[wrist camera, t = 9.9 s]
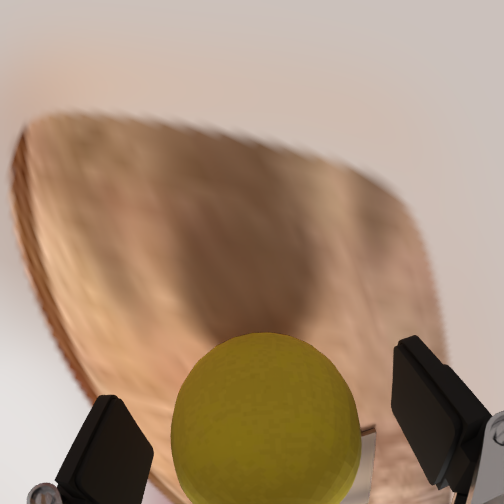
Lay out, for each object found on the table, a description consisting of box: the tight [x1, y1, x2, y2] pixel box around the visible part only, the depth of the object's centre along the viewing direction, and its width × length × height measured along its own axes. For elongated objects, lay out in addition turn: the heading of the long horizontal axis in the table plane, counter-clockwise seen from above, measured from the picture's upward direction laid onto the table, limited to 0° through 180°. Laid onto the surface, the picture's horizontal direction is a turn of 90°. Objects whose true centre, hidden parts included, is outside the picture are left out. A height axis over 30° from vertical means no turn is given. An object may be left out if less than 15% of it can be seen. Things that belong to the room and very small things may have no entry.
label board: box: [339, 428, 376, 504], centre depth 15 cm, size 14×10×1 cm
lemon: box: [171, 332, 362, 504], centre depth 8 cm, size 6×6×8 cm
